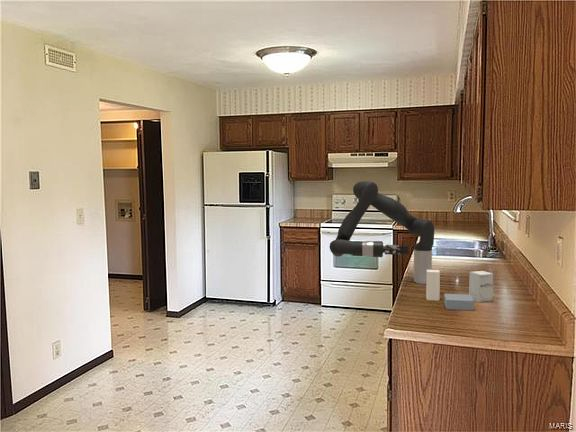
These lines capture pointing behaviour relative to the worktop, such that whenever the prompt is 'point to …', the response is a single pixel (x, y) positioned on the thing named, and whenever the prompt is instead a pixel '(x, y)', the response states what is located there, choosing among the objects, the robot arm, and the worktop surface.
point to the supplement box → (481, 286)
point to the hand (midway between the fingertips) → (408, 250)
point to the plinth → (458, 302)
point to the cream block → (433, 285)
